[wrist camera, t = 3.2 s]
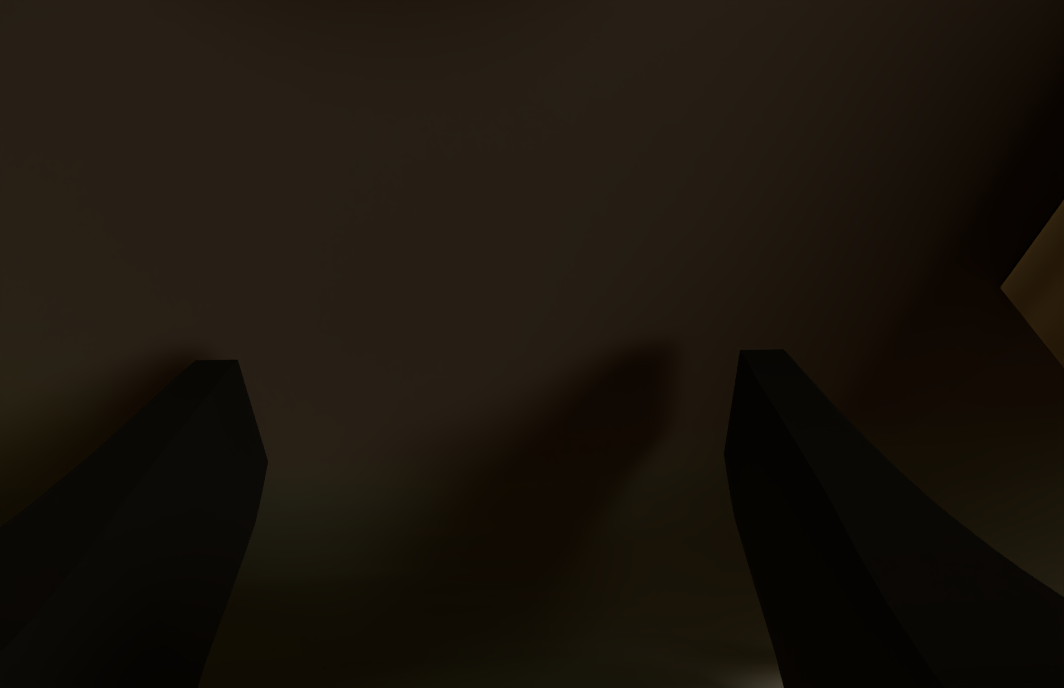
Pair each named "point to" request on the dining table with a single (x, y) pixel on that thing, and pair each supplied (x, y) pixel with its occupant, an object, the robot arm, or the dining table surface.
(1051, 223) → the frame
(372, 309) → the dining table surface
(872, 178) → the dining table surface
